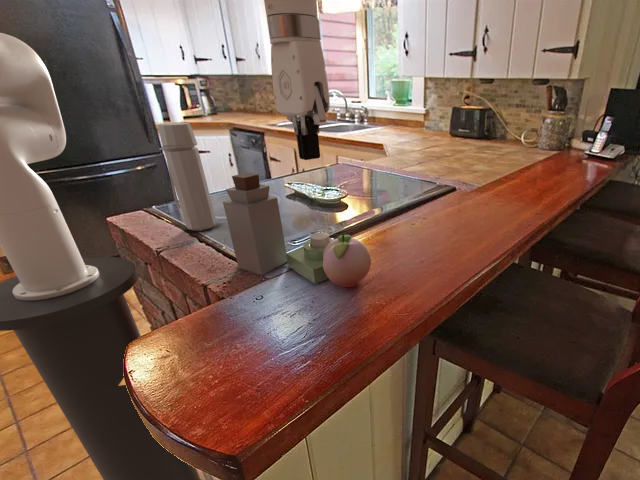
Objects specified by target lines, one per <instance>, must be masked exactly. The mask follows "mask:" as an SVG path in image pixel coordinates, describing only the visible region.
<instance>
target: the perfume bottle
mask: <svg viewBox="0 0 640 480" xmlns="http://www.w3.org/2000/svg"><path fill="white" fill-rule="evenodd" d="M231 179H232V182H233V185H234V186H233V187H229V188H226V189H225V191H226V193H227V196H229V198H230V199H227V200H224V201H222V205H223V209H224V214H225V217H226V223H227V226H228V230H229V234H230V238H231V243H232V247H233V251H234V255H235V260H236V263H237V267H238V269H242V270H244V271H247V272H251V273H253V274H257V275H260V276H263V275H265V274H267V273H269V272H271V271H273V270H275V269H277V268H279V267H281V266H283V265H284V264H287V263H288V261H287V255H286V253H287V248H286V241H285V237H284V231H283V225H282V224H283V223H282V219H281V213H280V206H279V200H278V197H277V196H271V195H269V194H270V185H266V184H260V175H259V174H258V173H253V172H252V173H251V172H244V173H239V174H235V175H231Z"/></svg>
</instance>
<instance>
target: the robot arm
mask: <svg viewBox="0 0 640 480" xmlns="http://www.w3.org/2000/svg"><path fill="white" fill-rule="evenodd" d="M263 3H264V9H265V17H266V22H267V29H268V36H269V42H270V43H269V44H270V67H271V80H272V88H273V97H274V105H275V110H276V111H277V112H278V113H279V114H281V115H285V118H286V120H287V121H289V122H290V123H292V128H293V132H294V134H295V135H296V142H297V143H296V144H297V150H298V157H299V159H300V160H305V161H310V160H316V159H320V158H321V149H320V141H319V134H320V127H321V125H322V124H325V123H326V122H327V117H326V116H327V115H326V114H327V113H329V112H330V107H331V106H330V105H331V104H330V103H331V102H330V89H329V81H328V73H327V68H326V62H325V57H324V52H323V48H322V37H321V36H322V35H321V27H320V17H319V6H318V0H263ZM66 133H67V132H66V129H65V125H64V122H63V117H62V114H61V110H60V107H59V103H58V99H57V96H56V93H55V88H54V84H53V82H52V78H51V75H50V72H49V70H48V69H47V67H46V65H45V63H44V62H43V60H42V59H41V57H40V56H39V55H38V53H37V52H36V51H35V50H34V49H33V48H32V47H31V46H30V45H28V44H27V43H26V42H24V41H22V40H21V39H19V38H17V37H15V36H13V35H9V34H7V33H3V32H0V248H1V250H2V252H3V254H4V255H5V257H6V259H7V261H8V263H9V264H10V267H11V268H12V270H13V272H14V273H15V276H17V277H18V279H19V281H20V283H19V284H18V285H16V286H15V287H14V288H13V291H12V292H13V294H14V296H15V297H16V298H17V299H19V300H24V301H35V300H43V299H49V298H54V297H58V296H62V295H65V294H68V293H71V292H74V291H77V290H79V289H81V288H83V287H86V286H87V285H89V284H91V283H92V282H94V281H95V280H96V279H97V278H98V276H99V271H98V269H97V268H96V267H93V266H89V265H85V264H84V262H83V259H84V258H83V257H82V255H81V253H80V250H79V248H78V245H77V244H76V241H75V240H74V238H73V235H72V232H71V231H70V228H69V226H68V224H67V222H66V219H65V216H64V215H63V212H62V211H61V209H60V206H59V204H58V202H57V200H56V197H55V196H54V194H53V192H52V190H51V187H49V185H48V184H47V182H46V181H44V180H43V178H42V177H40V176H39V175H38V174H37V173H36V172H35V171H34V170H33V169H31V168H30V166H29V164H34V163H39V162H43V161H47V160H50V159H51V160H52V159H54V158H56V157H58V156H59V155H61V154H62V153H63V151H64V150H65V148H66V145H67V134H66Z"/></svg>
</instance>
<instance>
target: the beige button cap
mask: <svg viewBox="0 0 640 480" xmlns="http://www.w3.org/2000/svg"><path fill="white" fill-rule="evenodd" d="M330 238H331V237H330V234H329V233H328V232H316V233H313V234H310V236H309V240H311V247H312V248H325V247H326V246H327V245H328V244H329V243H330Z"/></svg>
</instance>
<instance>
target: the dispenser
mask: <svg viewBox="0 0 640 480" xmlns="http://www.w3.org/2000/svg"><path fill="white" fill-rule="evenodd" d="M329 238H330V242H331V241H333V240H335V239H336V238H333V237H329ZM325 248H326V247H325ZM325 248H312V247H311V240H310V239H308V240H307V241H305V242H304V243H303V247H302V248H298V249H296V250H292V251H289V252H286V255H287V261H288V262H287V266H288V268H289V269H291V270H293V271H294V272H296V273H297V274H299V275H300V276H301V277H303V278H305V279H306V280H308V281H310V282H311V283H313V284H314V285H316V284H319V283H321V282H324V281H326V280H330V279H329V278H328V277H327V275H326V273H325V271H324V269H323V261H324V260H323V253H324V250H325Z"/></svg>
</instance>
